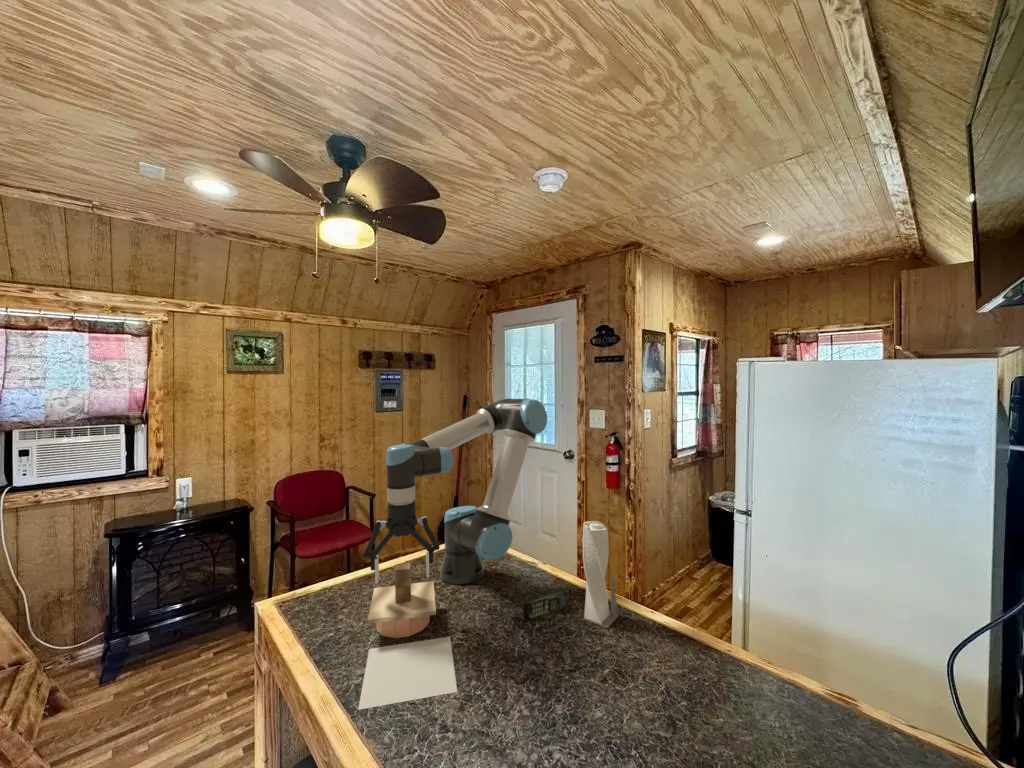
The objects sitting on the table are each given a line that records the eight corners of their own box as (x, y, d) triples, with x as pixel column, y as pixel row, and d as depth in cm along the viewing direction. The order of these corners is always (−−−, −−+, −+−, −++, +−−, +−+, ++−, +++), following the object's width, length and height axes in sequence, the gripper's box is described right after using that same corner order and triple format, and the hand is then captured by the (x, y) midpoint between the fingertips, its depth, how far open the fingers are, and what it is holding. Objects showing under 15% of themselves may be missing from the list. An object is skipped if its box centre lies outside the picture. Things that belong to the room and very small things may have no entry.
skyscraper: (605, 630, 110) (603, 525, 110) (578, 620, 115) (576, 519, 115) (618, 616, 117) (616, 516, 117) (591, 607, 122) (590, 511, 122)
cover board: (433, 584, 125) (432, 551, 125) (435, 614, 109) (435, 576, 109) (374, 591, 122) (373, 557, 122) (367, 624, 105) (366, 584, 105)
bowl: (428, 607, 124) (428, 587, 124) (430, 635, 110) (429, 612, 110) (379, 614, 120) (379, 593, 120) (374, 643, 107) (374, 620, 107)
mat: (450, 638, 108) (450, 636, 108) (457, 694, 89) (457, 691, 89) (369, 651, 104) (369, 648, 104) (358, 712, 84) (358, 709, 84)
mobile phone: (525, 605, 115) (570, 590, 122) (520, 600, 118) (565, 586, 125) (526, 622, 116) (571, 607, 122) (521, 617, 118) (565, 602, 125)
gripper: (446, 494, 122) (447, 567, 122) (355, 501, 116) (357, 577, 116) (447, 501, 114) (449, 578, 114) (351, 509, 109) (353, 590, 109)
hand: (402, 578), depth 115 cm, fingers open, 13 cm apart
